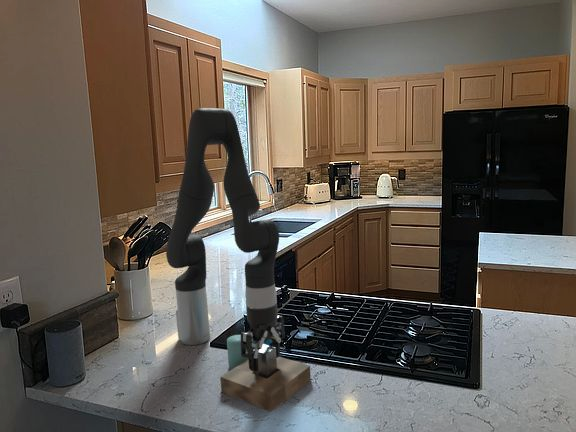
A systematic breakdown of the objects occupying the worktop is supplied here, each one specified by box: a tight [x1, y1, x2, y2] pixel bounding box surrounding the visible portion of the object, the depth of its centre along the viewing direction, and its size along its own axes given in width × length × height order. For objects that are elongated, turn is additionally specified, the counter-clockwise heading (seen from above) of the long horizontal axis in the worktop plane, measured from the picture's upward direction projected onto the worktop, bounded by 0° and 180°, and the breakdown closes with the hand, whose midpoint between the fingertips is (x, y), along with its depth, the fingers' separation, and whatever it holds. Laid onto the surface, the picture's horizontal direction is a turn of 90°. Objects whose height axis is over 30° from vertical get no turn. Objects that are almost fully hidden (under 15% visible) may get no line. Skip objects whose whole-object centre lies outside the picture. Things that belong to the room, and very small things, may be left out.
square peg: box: [252, 344, 277, 379], centre depth 117 cm, size 4×4×10 cm
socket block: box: [220, 356, 311, 412], centre depth 117 cm, size 16×16×4 cm
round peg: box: [226, 334, 248, 371], centre depth 128 cm, size 6×6×8 cm
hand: (265, 363), depth 117 cm, fingers open, 8 cm apart
